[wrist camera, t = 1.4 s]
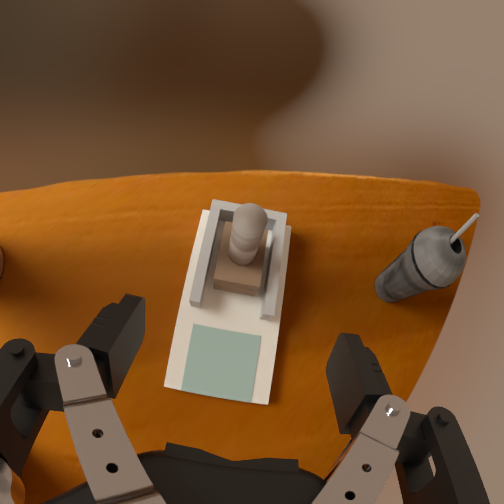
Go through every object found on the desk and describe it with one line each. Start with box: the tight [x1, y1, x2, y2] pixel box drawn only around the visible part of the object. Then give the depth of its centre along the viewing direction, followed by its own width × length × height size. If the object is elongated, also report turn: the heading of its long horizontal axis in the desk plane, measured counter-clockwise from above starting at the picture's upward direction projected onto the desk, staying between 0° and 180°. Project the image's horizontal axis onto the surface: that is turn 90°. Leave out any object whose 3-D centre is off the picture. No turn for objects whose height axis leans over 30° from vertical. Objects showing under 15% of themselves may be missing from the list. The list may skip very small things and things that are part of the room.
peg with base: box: [213, 203, 268, 296], centre depth 32 cm, size 7×5×12 cm
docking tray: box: [164, 199, 291, 405], centre depth 36 cm, size 23×12×4 cm, turn 171°
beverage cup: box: [375, 213, 479, 302], centre depth 32 cm, size 7×7×20 cm
